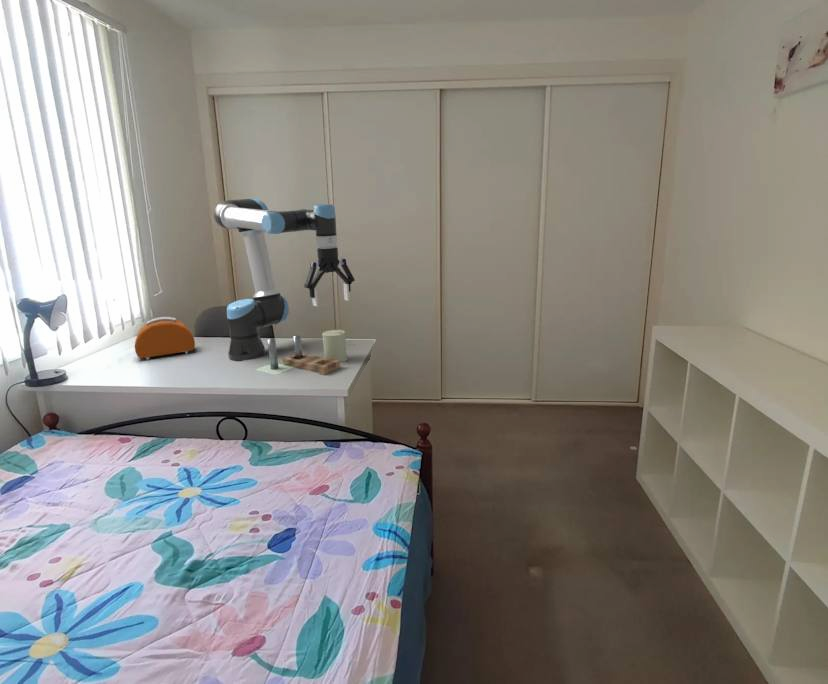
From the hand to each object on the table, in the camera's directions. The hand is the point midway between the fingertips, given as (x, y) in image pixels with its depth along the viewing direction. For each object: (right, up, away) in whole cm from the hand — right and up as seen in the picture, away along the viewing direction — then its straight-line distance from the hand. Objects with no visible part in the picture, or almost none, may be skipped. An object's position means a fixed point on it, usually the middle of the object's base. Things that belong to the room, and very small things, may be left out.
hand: (331, 303), depth 199 cm
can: (0, -22, +13) cm, 26 cm away
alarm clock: (-77, -21, +30) cm, 85 cm away
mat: (-23, -26, +5) cm, 35 cm away
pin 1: (-23, -25, +4) cm, 34 cm away
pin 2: (-14, -24, +9) cm, 29 cm away
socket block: (-9, -25, +6) cm, 27 cm away
